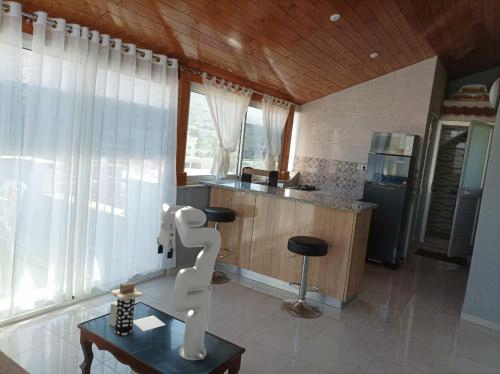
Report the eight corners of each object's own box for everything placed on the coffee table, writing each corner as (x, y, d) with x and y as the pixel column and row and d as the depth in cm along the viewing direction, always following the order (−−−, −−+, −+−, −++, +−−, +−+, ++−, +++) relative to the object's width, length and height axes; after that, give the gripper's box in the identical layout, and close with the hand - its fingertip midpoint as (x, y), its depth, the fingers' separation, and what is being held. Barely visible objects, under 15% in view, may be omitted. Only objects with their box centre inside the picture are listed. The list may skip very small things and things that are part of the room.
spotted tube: (122, 327, 185) (125, 290, 183) (135, 331, 182) (138, 293, 180) (110, 334, 177) (113, 295, 175) (124, 339, 174) (128, 299, 172)
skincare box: (118, 321, 191) (119, 299, 190) (124, 323, 189) (126, 301, 188) (108, 325, 185) (110, 302, 184) (114, 328, 183) (116, 305, 182)
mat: (165, 325, 191) (165, 324, 191) (143, 332, 182) (143, 331, 182) (153, 316, 200) (153, 315, 200) (131, 322, 191) (131, 321, 191)
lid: (142, 296, 178) (143, 285, 177) (121, 300, 170) (122, 289, 169) (131, 288, 185) (132, 278, 185) (110, 293, 177) (111, 282, 177)
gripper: (182, 228, 195) (179, 259, 196) (165, 222, 207) (162, 251, 208) (170, 229, 189) (167, 261, 191) (153, 222, 201) (150, 252, 203)
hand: (164, 255), depth 199 cm, fingers open, 9 cm apart
